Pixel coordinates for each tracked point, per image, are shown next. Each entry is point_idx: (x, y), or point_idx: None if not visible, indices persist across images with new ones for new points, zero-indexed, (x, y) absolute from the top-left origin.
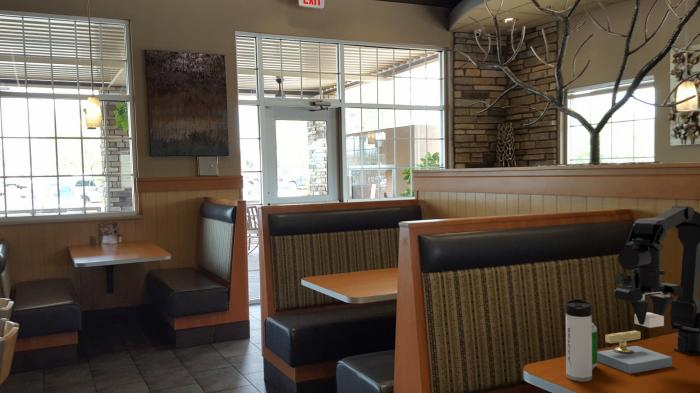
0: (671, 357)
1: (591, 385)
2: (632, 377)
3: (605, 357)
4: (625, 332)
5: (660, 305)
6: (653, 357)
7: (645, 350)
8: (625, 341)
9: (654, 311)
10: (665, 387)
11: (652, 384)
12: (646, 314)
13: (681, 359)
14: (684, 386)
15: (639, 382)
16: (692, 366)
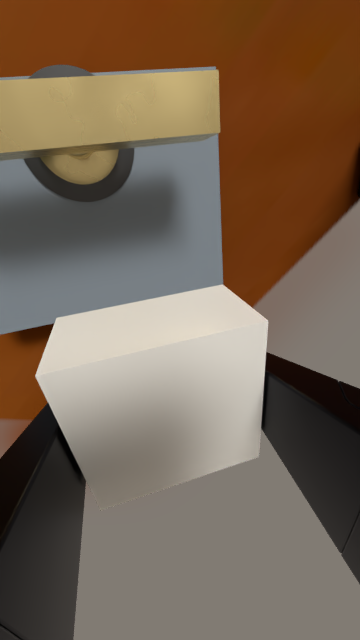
0: None
1: None
2: (5, 348)
3: None
4: (98, 98)
5: (343, 519)
6: (157, 275)
7: (196, 172)
8: (77, 153)
9: (283, 397)
10: None
11: (40, 402)
12: (171, 402)
13: (296, 220)
14: None
15: (6, 387)
16: (264, 290)
